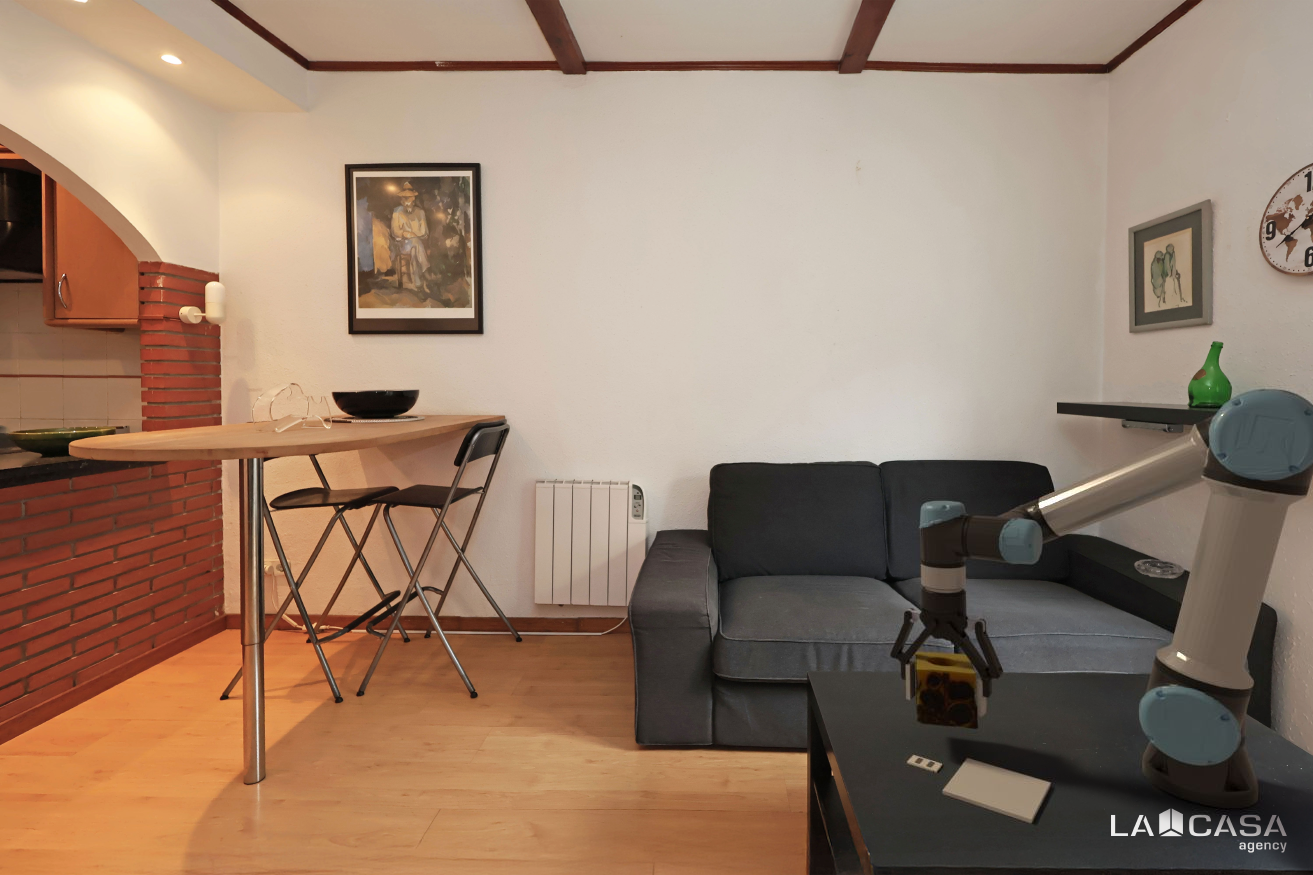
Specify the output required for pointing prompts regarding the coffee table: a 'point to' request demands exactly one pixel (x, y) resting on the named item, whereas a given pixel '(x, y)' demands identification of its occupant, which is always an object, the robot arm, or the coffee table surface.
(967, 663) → the candle
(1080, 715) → the coffee table surface
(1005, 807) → the coaster
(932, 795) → the coffee table surface
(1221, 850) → the coffee table surface
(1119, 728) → the coffee table surface
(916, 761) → the tag
